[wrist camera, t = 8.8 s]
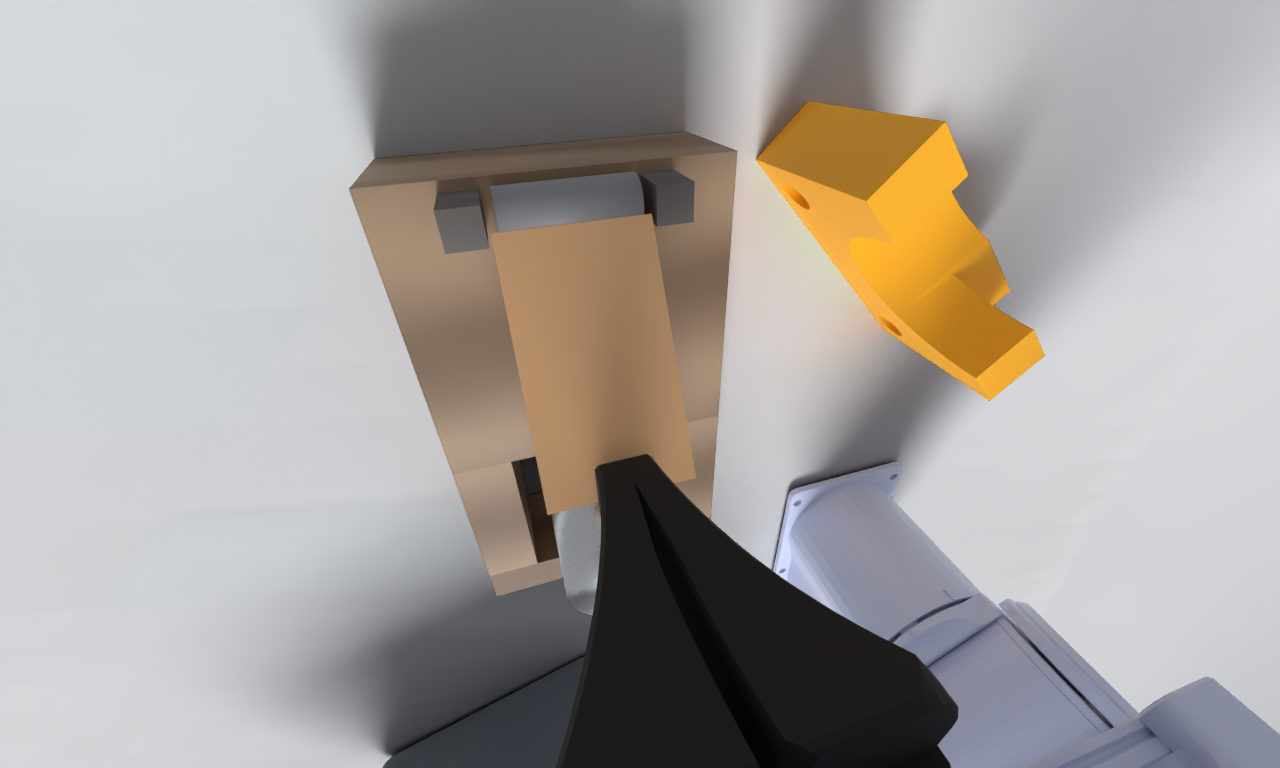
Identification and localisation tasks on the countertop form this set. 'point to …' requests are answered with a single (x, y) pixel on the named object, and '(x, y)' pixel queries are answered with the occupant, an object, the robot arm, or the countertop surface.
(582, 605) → the peg
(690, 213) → the wooden box
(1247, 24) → the countertop surface
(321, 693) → the countertop surface
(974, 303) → the pipe clamp
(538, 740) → the storage bin
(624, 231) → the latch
